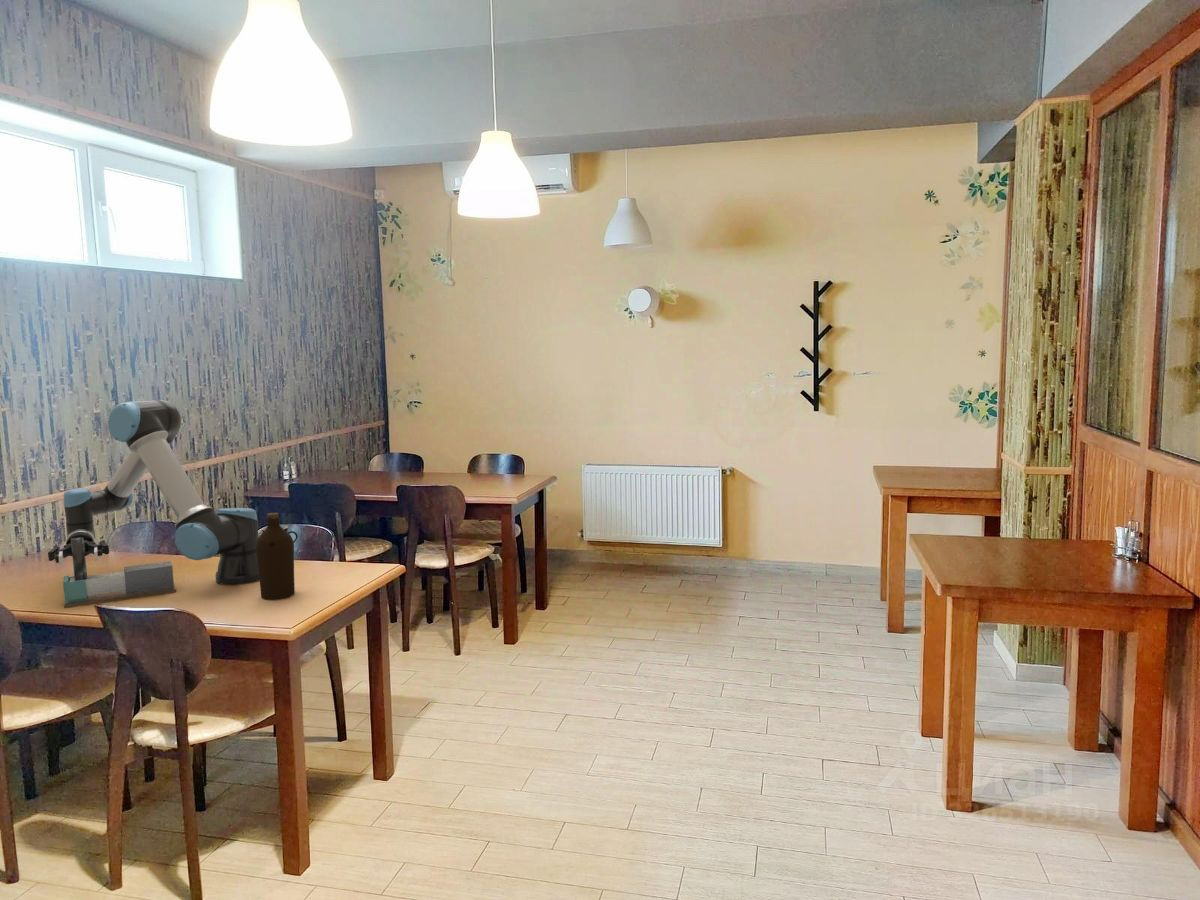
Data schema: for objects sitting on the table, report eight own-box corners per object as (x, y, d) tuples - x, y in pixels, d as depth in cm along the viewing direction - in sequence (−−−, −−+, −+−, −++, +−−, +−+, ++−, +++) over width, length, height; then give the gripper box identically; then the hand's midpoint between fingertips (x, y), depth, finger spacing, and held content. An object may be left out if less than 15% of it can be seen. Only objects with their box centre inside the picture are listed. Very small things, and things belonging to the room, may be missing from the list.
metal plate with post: (133, 585, 257) (128, 531, 255) (133, 589, 253) (128, 534, 251) (71, 593, 249) (66, 538, 247) (71, 597, 245) (65, 541, 243)
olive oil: (302, 595, 251) (297, 513, 248) (267, 603, 243) (261, 518, 240) (288, 588, 258) (283, 508, 255) (253, 595, 251) (247, 513, 248)
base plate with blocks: (173, 584, 265) (171, 559, 264) (176, 592, 256) (174, 566, 255) (65, 599, 250) (62, 573, 249) (64, 608, 242) (61, 581, 241)
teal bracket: (87, 594, 252) (85, 573, 251) (87, 600, 246) (85, 578, 245) (66, 597, 249) (64, 576, 248) (65, 603, 243) (63, 581, 242)
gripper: (119, 550, 268) (120, 565, 248) (41, 559, 257) (36, 576, 238) (117, 527, 267) (118, 541, 247) (39, 535, 256) (33, 550, 237)
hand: (78, 558), depth 243 cm, fingers open, 8 cm apart
